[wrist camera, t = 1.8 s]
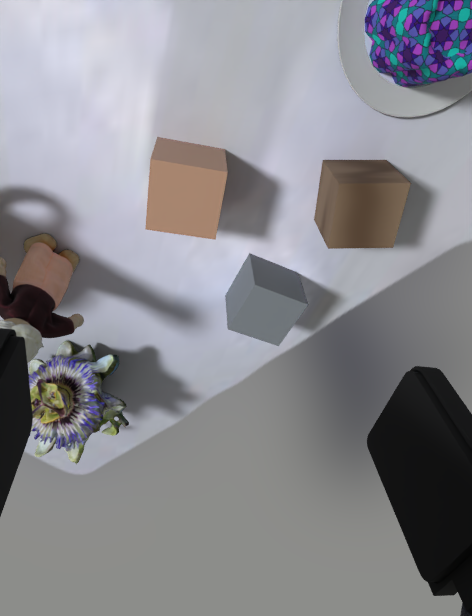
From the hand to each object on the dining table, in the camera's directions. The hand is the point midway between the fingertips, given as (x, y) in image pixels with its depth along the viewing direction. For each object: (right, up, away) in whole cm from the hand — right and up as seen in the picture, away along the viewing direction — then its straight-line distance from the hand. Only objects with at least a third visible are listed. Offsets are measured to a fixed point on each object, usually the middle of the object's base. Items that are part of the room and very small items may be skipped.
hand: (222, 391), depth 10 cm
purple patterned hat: (+13, +21, +17) cm, 30 cm away
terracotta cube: (-3, +12, +22) cm, 25 cm away
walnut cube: (+9, +12, +24) cm, 28 cm away
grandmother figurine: (-15, +7, +26) cm, 30 cm away
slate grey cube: (+3, +4, +29) cm, 29 cm away
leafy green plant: (-16, -5, +34) cm, 38 cm away
